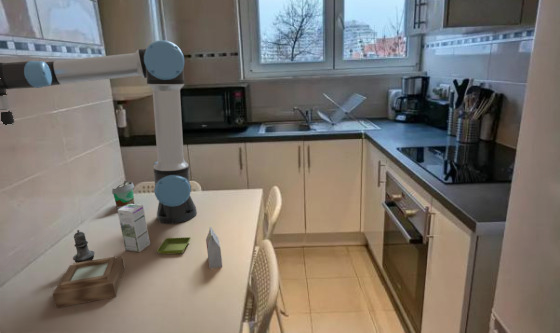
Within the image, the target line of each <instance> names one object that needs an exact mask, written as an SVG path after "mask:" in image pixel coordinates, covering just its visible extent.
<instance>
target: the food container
mask: <svg viewBox="0 0 560 333" xmlns="http://www.w3.org/2000/svg"><path fill="white" fill-rule="evenodd" d="M134 188H135V185H134V183H133V182H132V181H131V180H124V181H123V183H122V184H120V185H118V186H117V187H116V188H112V189H111V192H112V195H113V198H114V202H115V206H116V210H117V211H118V209H120V208H121V207H123V206H125V205H127V204H135V198H134V197H135V196H134Z"/></svg>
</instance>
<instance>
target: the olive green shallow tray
mask: <svg viewBox="0 0 560 333" xmlns="http://www.w3.org/2000/svg"><path fill="white" fill-rule="evenodd" d="M191 240H192V238H191V237H190V236H187V237H166V238H165V239H164V240H163V241H162V243H161V244H160V246H159V247H158V248H157V249H156V252H157V253H159V254H161V255H167V254H168V255H169V254H170V255H171V254H174V255H176V254H183V253H184V251H185V250H186V248H187V246H188V244H189V242H190V241H191Z"/></svg>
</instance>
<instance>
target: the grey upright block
mask: <svg viewBox="0 0 560 333" xmlns="http://www.w3.org/2000/svg"><path fill="white" fill-rule="evenodd" d="M205 244H206V251H207V259H208V261H207V262H208V266H209V269H216V268H222V267H223V260H222V251H221V250H222V249H221V244H220V238H219V237H218V234H216V232H215V231H214V230H213V228H212V226H210V227H209V231H208V233H207V237H206V239H205Z"/></svg>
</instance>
